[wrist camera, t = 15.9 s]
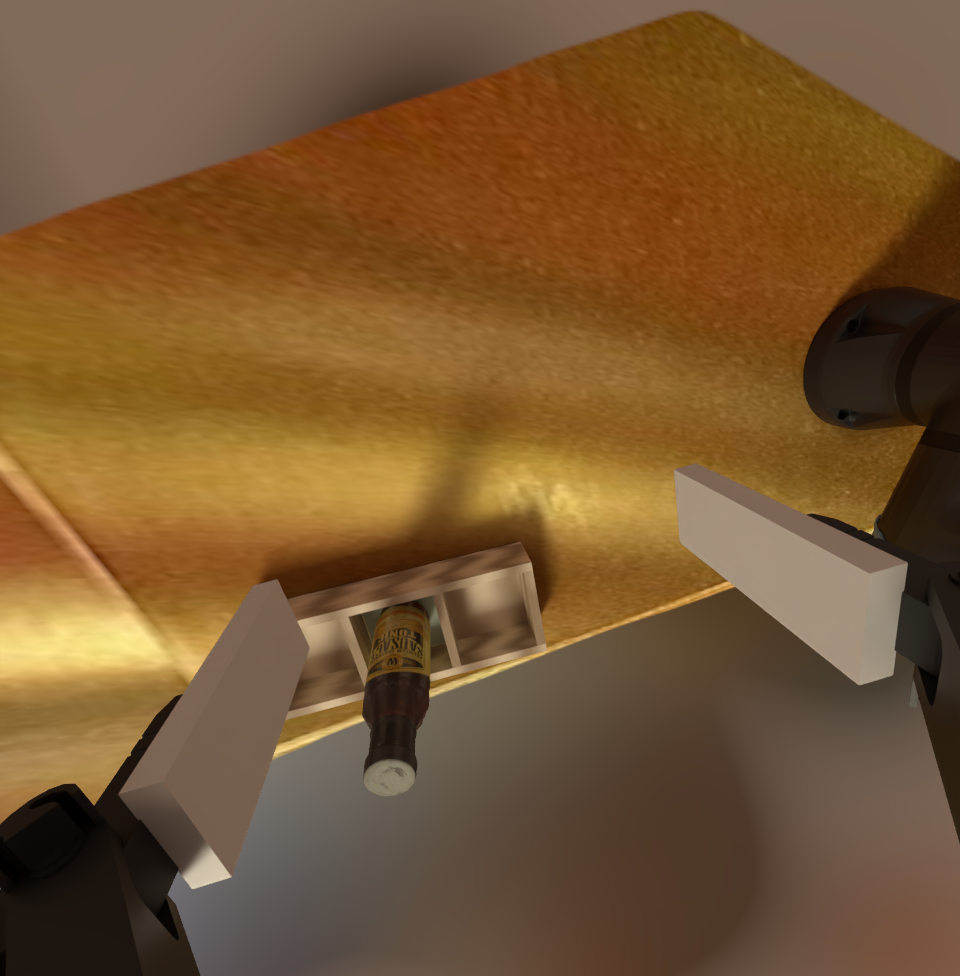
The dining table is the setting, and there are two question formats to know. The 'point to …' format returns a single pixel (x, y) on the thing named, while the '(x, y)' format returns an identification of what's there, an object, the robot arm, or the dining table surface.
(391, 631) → the sauce bottle
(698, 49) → the dining table surface
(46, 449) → the dining table surface
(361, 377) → the dining table surface
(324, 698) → the condiment rack
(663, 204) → the dining table surface
